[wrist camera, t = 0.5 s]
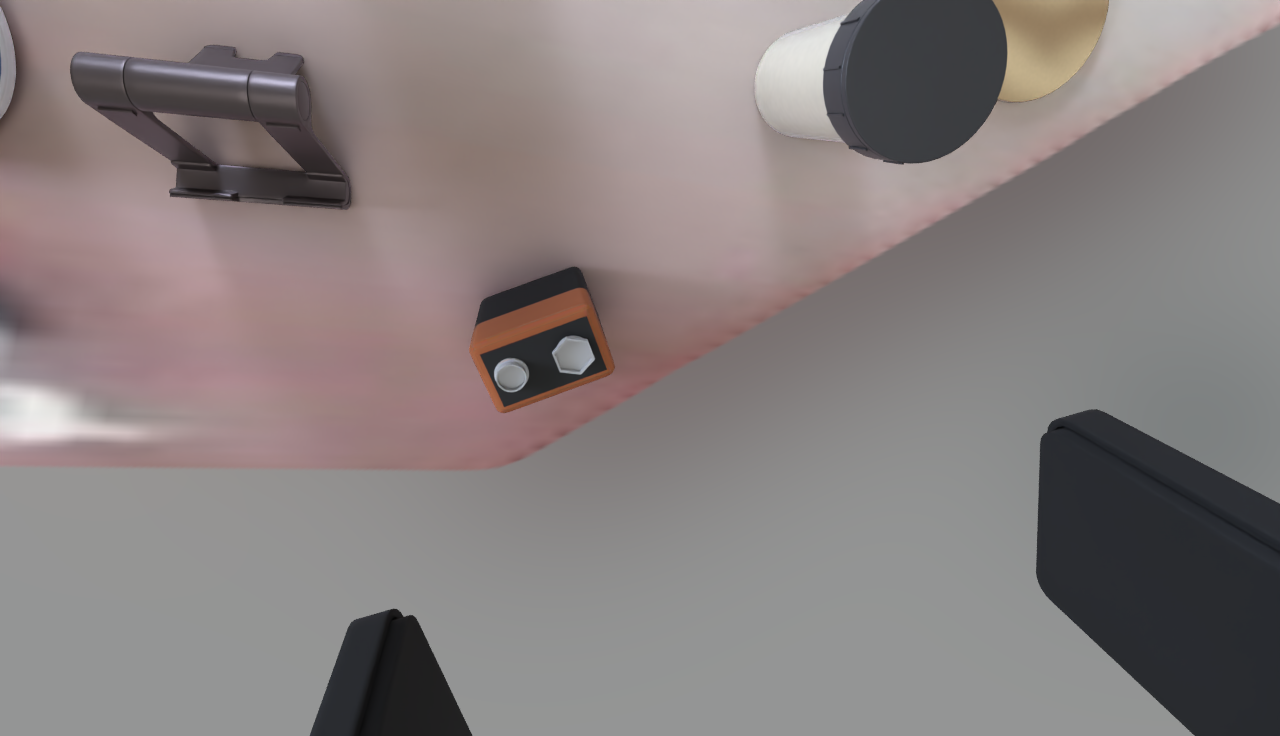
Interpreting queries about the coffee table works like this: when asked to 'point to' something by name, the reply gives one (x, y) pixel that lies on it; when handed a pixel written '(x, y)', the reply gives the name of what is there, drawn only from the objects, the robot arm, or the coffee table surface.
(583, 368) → the battery
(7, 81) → the supplement tub
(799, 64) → the jar
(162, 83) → the tablet stand
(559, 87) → the coffee table surface
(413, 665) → the robot arm
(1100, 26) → the coaster
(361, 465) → the coffee table surface
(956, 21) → the lid
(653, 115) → the coffee table surface
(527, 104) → the coffee table surface
